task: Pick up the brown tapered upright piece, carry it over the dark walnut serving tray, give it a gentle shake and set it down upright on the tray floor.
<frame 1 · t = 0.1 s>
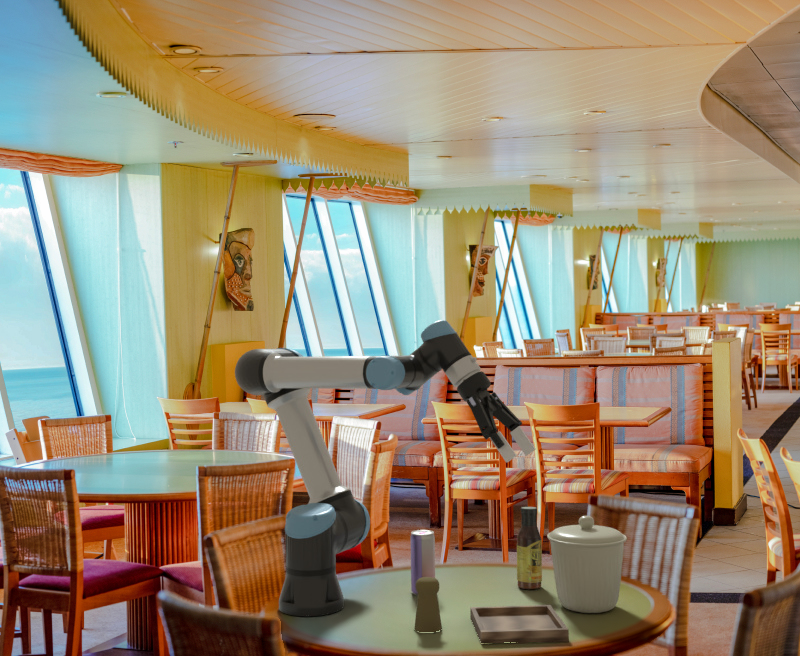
hand: (521, 456, 207), 36 cm above the table, tool tilted 35°, fingers open, 13 cm apart
beverage can: (423, 594, 226), on the table
canister: (588, 608, 212), on the table
brown tapered upright piece: (428, 630, 197), on the table
tray: (517, 629, 196), on the table
sauce bottle: (529, 587, 230), on the table
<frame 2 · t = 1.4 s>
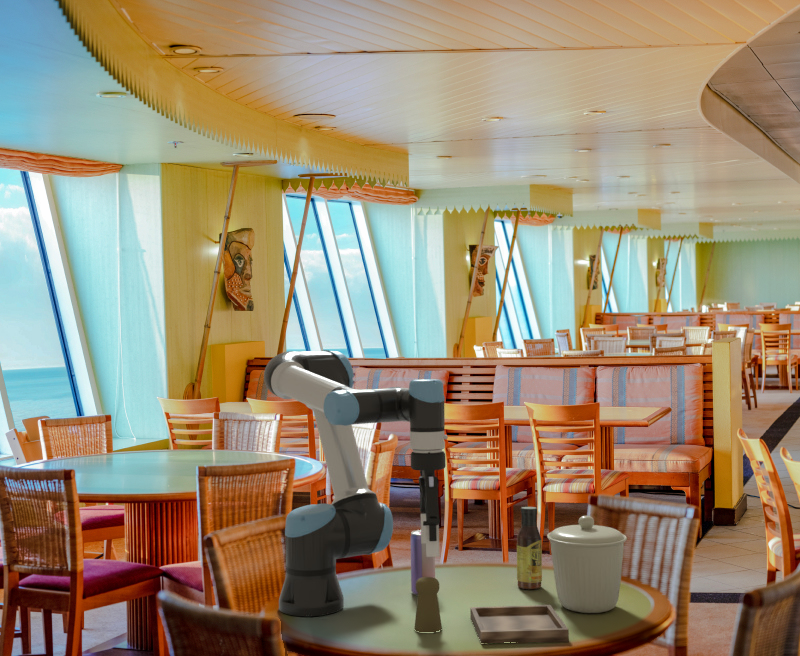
hand: (429, 549, 198), 17 cm above the table, tool pointing down, fingers open, 13 cm apart
nothing on the table moved.
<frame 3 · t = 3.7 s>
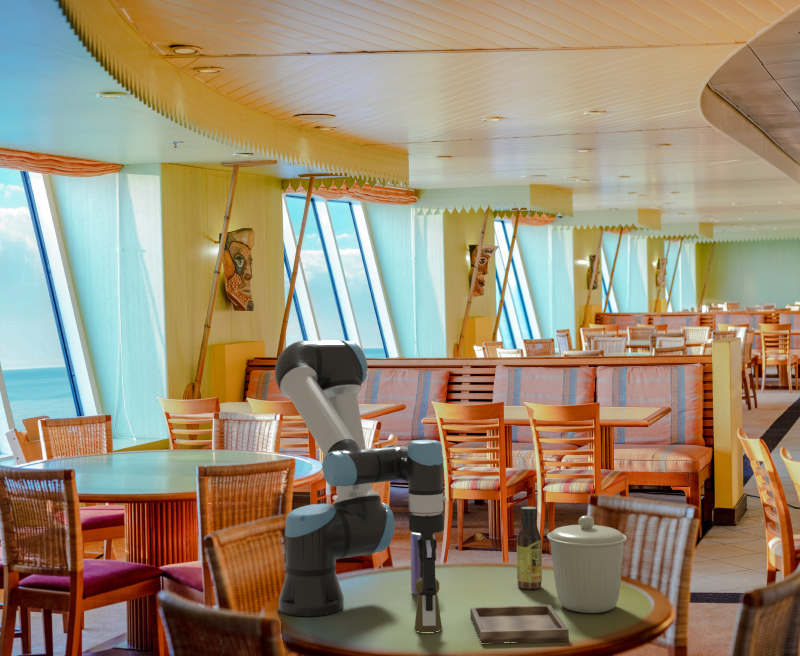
hand: (428, 621, 197), 2 cm above the table, tool pointing down, fingers closed on brown tapered upright piece, 5 cm apart
brown tapered upright piece: (428, 630, 197), on the table, touching gripper
everything else where it was.
when the fingers open (3 cm above the table, at t = 11.0 s): brown tapered upright piece moves 5 cm, point 3 cm above the table.
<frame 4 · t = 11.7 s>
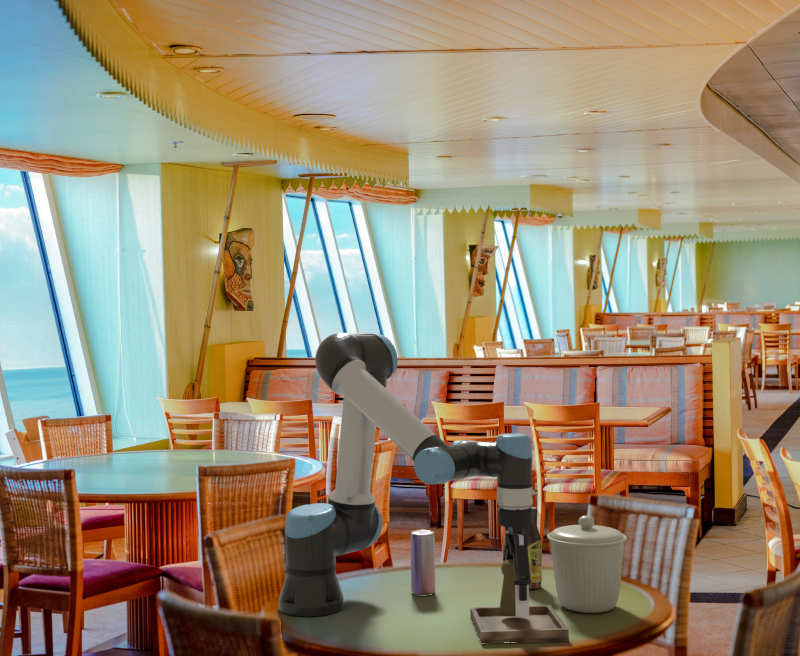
hand: (516, 606, 196), 5 cm above the table, tool pointing down, fingers open, 13 cm apart
brown tapered upright piece: (513, 610, 201), point 3 cm above the table, touching gripper
everything else where it was.
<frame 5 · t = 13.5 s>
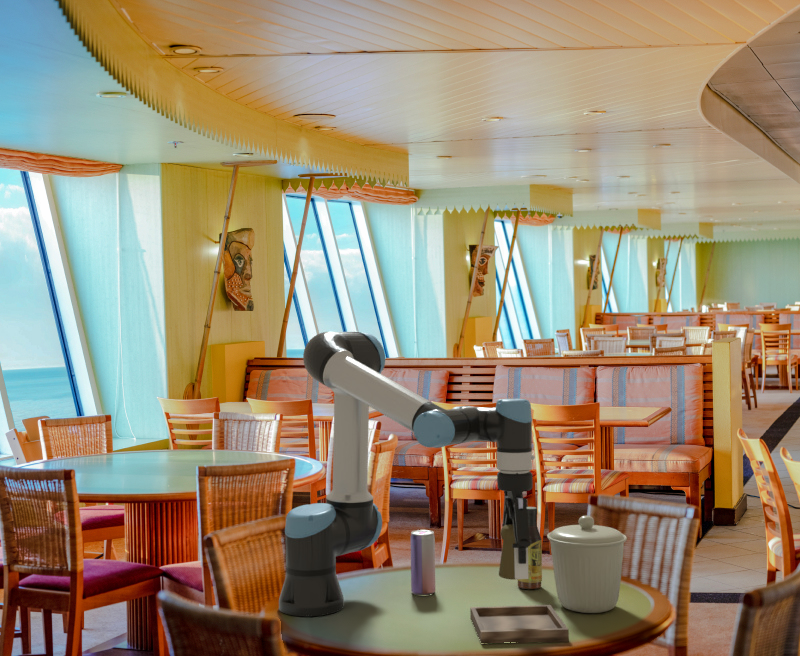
hand: (516, 570, 196), 12 cm above the table, tool pointing down, fingers open, 13 cm apart
brown tapered upright piece: (512, 575, 201), point 10 cm above the table, touching gripper
everything else where it was.
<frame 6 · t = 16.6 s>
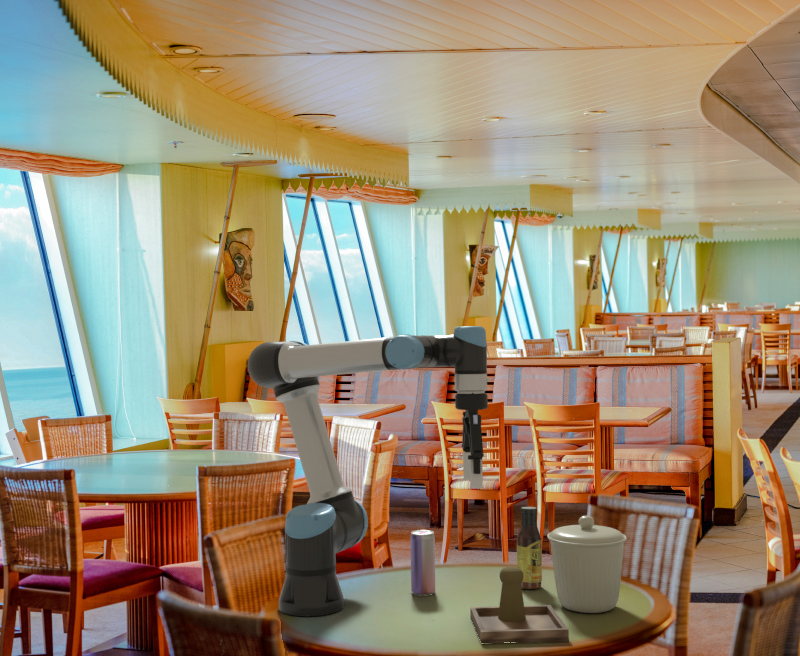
hand: (472, 483, 213), 29 cm above the table, tool pointing down, fingers open, 13 cm apart
brown tapered upright piece: (511, 619, 201), point 1 cm above the table, touching tray
everything else where it was.
at the end: brown tapered upright piece inside the target area on the tray (4.8 cm from its centre), point 0.8 cm above the tray's base; brown tapered upright piece tilted 0°; the gripper is holding nothing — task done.
